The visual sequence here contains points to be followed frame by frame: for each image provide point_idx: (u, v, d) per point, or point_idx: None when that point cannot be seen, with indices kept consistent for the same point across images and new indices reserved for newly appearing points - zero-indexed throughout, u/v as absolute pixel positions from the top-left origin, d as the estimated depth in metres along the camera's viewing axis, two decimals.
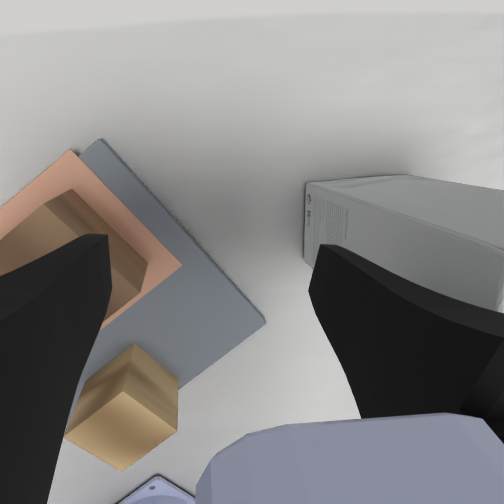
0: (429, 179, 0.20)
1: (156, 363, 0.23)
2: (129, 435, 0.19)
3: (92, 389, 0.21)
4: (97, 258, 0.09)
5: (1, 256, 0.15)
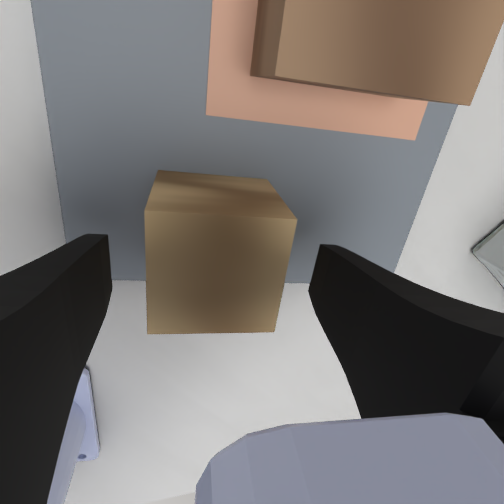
0: None
1: None
2: (223, 289, 0.11)
3: (191, 186, 0.12)
4: (97, 258, 0.09)
5: None
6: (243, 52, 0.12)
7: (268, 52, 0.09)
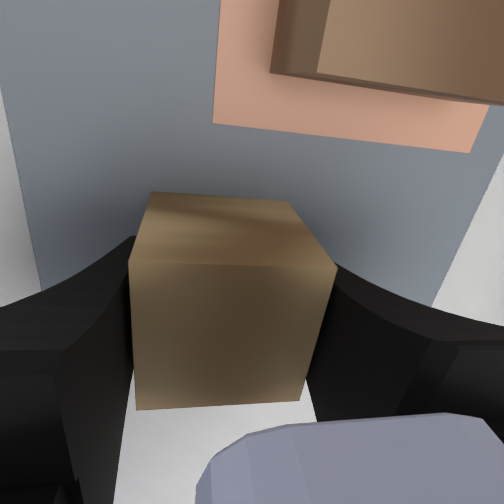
0: None
1: None
2: (236, 355, 0.08)
3: (194, 215, 0.09)
4: None
5: None
6: (261, 42, 0.09)
7: (303, 39, 0.06)
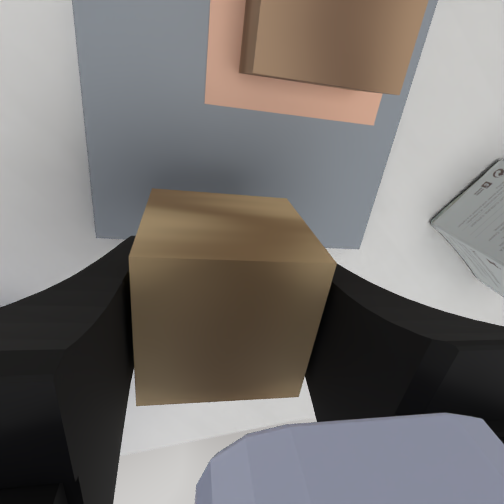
0: None
1: None
2: (236, 351, 0.08)
3: (194, 212, 0.09)
4: None
5: None
6: (233, 54, 0.15)
7: (249, 55, 0.12)
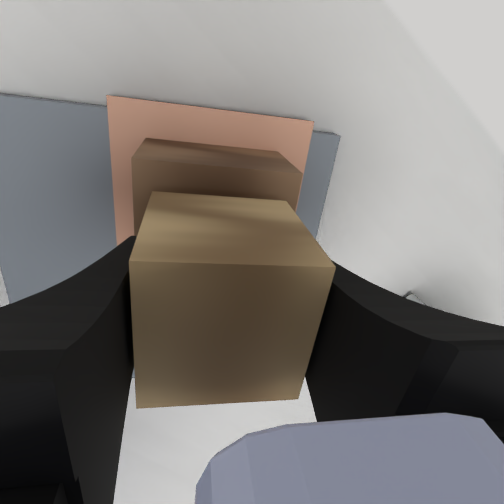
0: None
1: None
2: (235, 353, 0.08)
3: (194, 215, 0.09)
4: None
5: (214, 181, 0.12)
6: None
7: None
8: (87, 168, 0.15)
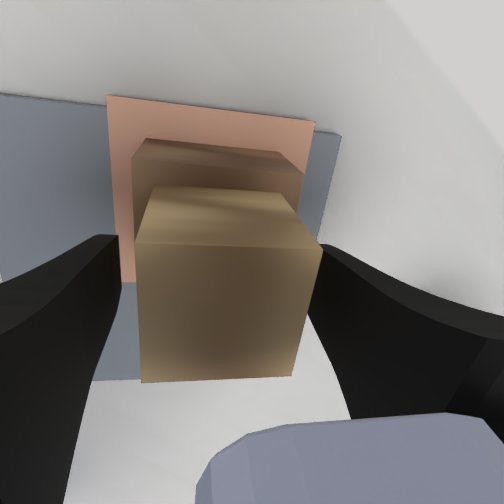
0: None
1: None
2: (232, 331, 0.09)
3: (193, 204, 0.10)
4: (109, 258, 0.09)
5: (215, 182, 0.11)
6: None
7: None
8: (86, 168, 0.14)
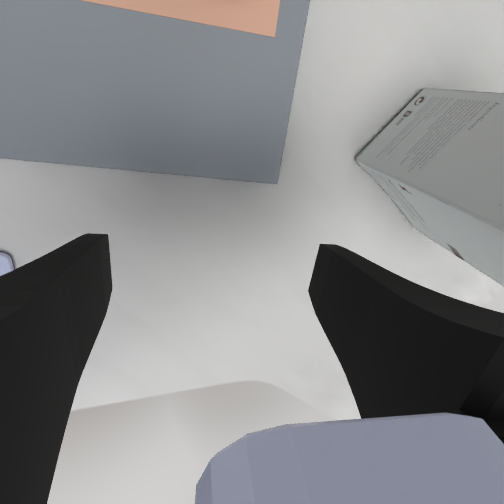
0: None
1: None
2: None
3: None
4: (97, 258, 0.09)
5: None
6: None
7: None
8: None
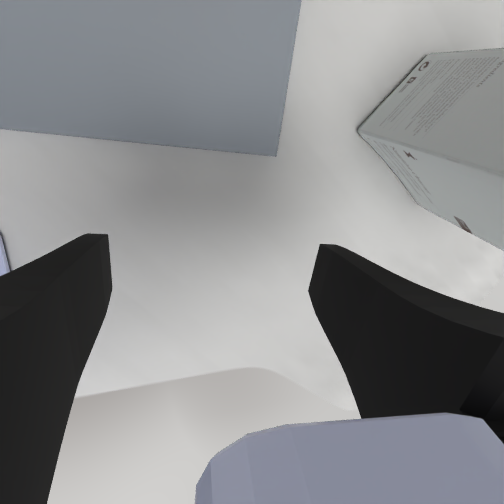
0: None
1: None
2: None
3: None
4: (97, 258, 0.09)
5: None
6: None
7: None
8: None
